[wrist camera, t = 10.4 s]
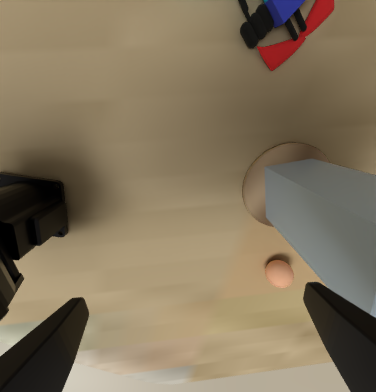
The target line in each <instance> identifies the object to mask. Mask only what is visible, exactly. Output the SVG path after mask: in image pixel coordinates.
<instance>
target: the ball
mask: <svg viewBox="0 0 376 392" xmlns="http://www.w3.org/2000/svg"><path fill="white" fill-rule="evenodd" d="M265 274H266V277H267V279H268V281H269V282H270V283H271V284H272V285H274V286H276V287H280V288H284V287H288V286H289V285H290V284H291V283H292V282H293V279H294V273H293V270H292V268H291V267H290V266H289V265H288V264H287V263H286V262H284V261H281V260H274V261H271V262H270V263H268V265H267V266H266V270H265Z"/></svg>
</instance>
